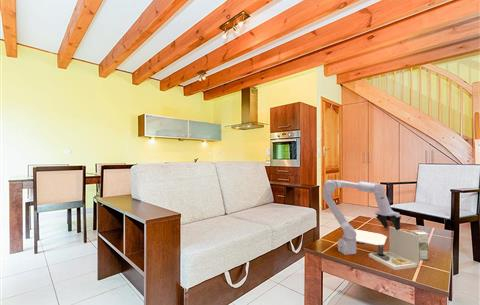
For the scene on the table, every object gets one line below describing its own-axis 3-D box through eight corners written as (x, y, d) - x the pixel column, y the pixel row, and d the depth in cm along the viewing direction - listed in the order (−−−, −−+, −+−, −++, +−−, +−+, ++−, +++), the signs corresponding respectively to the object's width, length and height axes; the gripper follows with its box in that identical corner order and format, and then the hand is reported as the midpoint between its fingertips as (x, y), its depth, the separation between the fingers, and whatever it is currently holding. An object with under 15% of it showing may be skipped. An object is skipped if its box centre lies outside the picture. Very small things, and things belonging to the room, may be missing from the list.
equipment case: (394, 272, 111) (394, 238, 111) (368, 258, 126) (368, 228, 127) (419, 268, 114) (418, 235, 115) (391, 255, 130) (390, 226, 130)
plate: (383, 249, 139) (383, 245, 139) (340, 240, 154) (340, 237, 154) (387, 238, 159) (387, 234, 159) (349, 231, 174) (349, 228, 174)
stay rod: (380, 259, 122) (380, 246, 122) (377, 258, 124) (376, 245, 124) (384, 259, 122) (384, 246, 123) (380, 257, 125) (380, 244, 125)
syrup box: (420, 255, 130) (419, 229, 130) (429, 260, 124) (428, 233, 124) (410, 255, 130) (409, 230, 130) (418, 260, 124) (418, 233, 124)
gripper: (400, 202, 122) (409, 227, 120) (378, 202, 136) (386, 224, 134) (390, 206, 120) (399, 232, 118) (369, 205, 134) (377, 228, 132)
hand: (392, 228), depth 126 cm, fingers open, 7 cm apart
